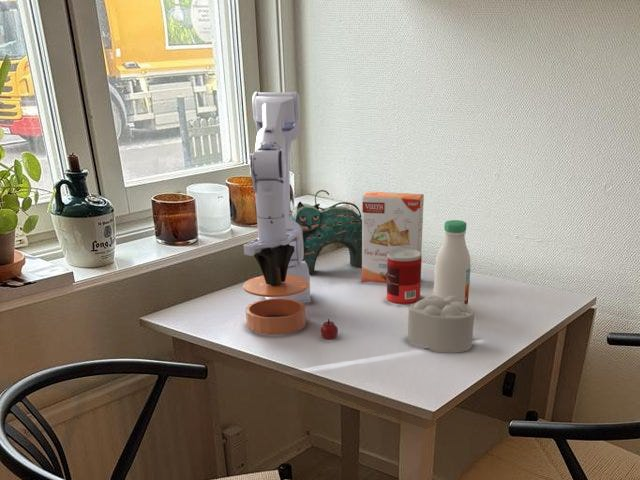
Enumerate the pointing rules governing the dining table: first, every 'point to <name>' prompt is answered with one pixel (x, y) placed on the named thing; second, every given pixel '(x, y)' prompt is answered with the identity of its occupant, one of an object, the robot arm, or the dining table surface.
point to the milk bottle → (453, 263)
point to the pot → (275, 324)
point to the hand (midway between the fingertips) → (275, 282)
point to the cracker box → (388, 229)
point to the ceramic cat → (329, 230)
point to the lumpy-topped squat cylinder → (441, 324)
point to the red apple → (329, 330)
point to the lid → (276, 285)
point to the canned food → (403, 276)
